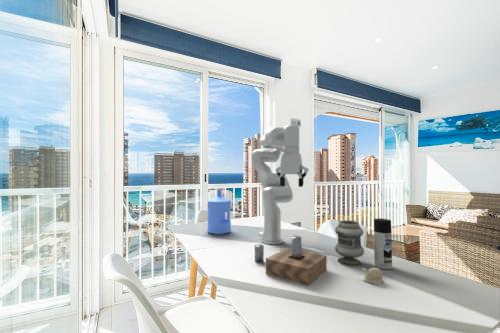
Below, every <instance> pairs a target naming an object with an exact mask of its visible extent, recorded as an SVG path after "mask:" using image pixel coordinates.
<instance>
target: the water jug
mask: <svg viewBox="0 0 500 333" xmlns="http://www.w3.org/2000/svg"><path fill="white" fill-rule="evenodd" d="M216 191H217V192H216V196H214V197H212V198H211V199H209V200H207V218H206V219H207V230H206V231H207V233H208V232H209V234H210V233H215V234H214V235H224V234H223V233H227V234H229V233H231V231H232V226H231V225H232V222H231V221H232V220H231V210H232V202H231V199H228V198H227V197H224V196H223V195H222V193H223V192H222V189H216ZM226 213H227V214H226ZM226 218H227V219H226ZM228 232H229V233H228Z"/></svg>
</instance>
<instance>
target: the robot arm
mask: <svg viewBox="0 0 500 333" xmlns="http://www.w3.org/2000/svg"><path fill="white" fill-rule="evenodd" d="M259 143H260V147H262V148H257V149H254V150H253V151H252V152H251V163H252V165H253V168H254V169H255V171H256V172H257V174H258V178H259V182H260V185H261V186H262V188H263V190H262V200H263V210H264V211H263V215H264V216H263V220H264V222H263V224H264V225H263V228H264V229H263V230H264V231H262V232H261V231H259V233H258V235H259V236H258V237H262V238H261V243H263V244H265V245H280V244H283V243H284V241H285V240H284V239H283V238H282V232H281V231H282V227H281V226H282V221H281V220H282V218H281V217H282V215H281V214H282V213H281V212H282V210H281V208H280V207H279V206H278V204H280V203H281V204H282V203H283V204H284V203H285V204H287V203H291V201H292V200H293V197H294V195H293V190H292V188H291V185H290V183H289V181H288V178H287V176H286V175H297V176H298V177H299V178H298V187H299V188H301V187H303V186H304V178H305V177H306V176H307V175H308V172H309V168H308V167H306V166H304V165H303V160H302V155H301V153H300V128H299V126H298V125H296V124H290V125H289V124H288V125H285V126H284V127H281V126H279V127H276V126H275V127H270V128H268V129H266V130H265V133H264V135H263V136H261V138H260V141H259ZM280 157H281V158H280ZM279 159H280V165H279V166H278V167H277V168H275V171H276V173H275V172H272V169H271V167H270V165H268V164H267V163H277V162H278V161H279Z"/></svg>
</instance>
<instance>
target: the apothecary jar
mask: <svg viewBox="0 0 500 333" xmlns="http://www.w3.org/2000/svg"><path fill="white" fill-rule="evenodd" d="M334 231H335V232H334V233H335V234H337V244H336V245H335V247H334V250H335V252H336V253H337V254H338V255H340V256H341V257H339V258H337V262H338V263H339V264H341V265H345V266H347V267H359V266H361V265H362V261H361V260H359V259H358V258H360V257H362V256H364V254H365V249H364V247H363V246H362V242H361V239H362V238H361V237H362V236H363V235H364V229H363V228H362V227H361V226H360V223H359V221H357V220H356V221H355V220H346V219H345V220H340V221H339V222H338V225H337V226H336V227H335V229H334Z"/></svg>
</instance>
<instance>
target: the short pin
mask: <svg viewBox="0 0 500 333" xmlns="http://www.w3.org/2000/svg"><path fill="white" fill-rule="evenodd" d="M264 248H265V247H264V244H255V245H254V262H255V263H257V264H262V263H265V262H264V260H265V259H264V256H265V255H264V254H265V253H264V252H265V250H264Z"/></svg>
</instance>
